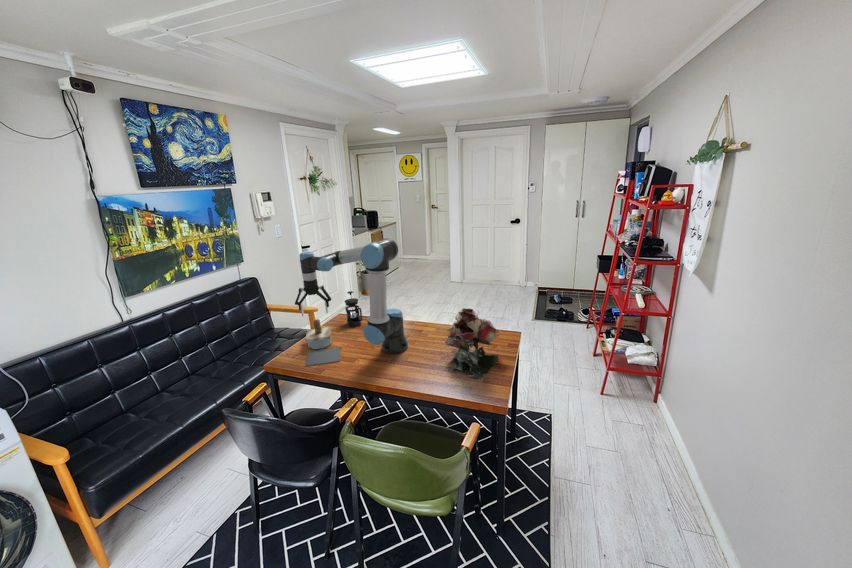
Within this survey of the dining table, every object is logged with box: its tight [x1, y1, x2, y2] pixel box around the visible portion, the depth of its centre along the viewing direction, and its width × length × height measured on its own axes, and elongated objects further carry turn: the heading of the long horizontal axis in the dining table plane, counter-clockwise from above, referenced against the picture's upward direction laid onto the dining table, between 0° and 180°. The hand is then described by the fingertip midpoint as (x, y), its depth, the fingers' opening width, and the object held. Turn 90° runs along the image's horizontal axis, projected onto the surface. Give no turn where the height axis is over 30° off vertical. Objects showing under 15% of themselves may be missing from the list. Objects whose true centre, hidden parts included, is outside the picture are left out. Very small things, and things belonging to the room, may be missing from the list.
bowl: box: [307, 337, 332, 350], centre depth 213 cm, size 13×13×6 cm
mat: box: [305, 347, 341, 368], centre depth 198 cm, size 18×16×1 cm
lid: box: [304, 318, 332, 343], centre depth 210 cm, size 14×14×10 cm
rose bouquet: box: [444, 307, 500, 380], centre depth 181 cm, size 26×29×30 cm
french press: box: [344, 290, 363, 328], centre depth 236 cm, size 12×9×23 cm
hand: (315, 313), depth 208 cm, fingers open, 13 cm apart
